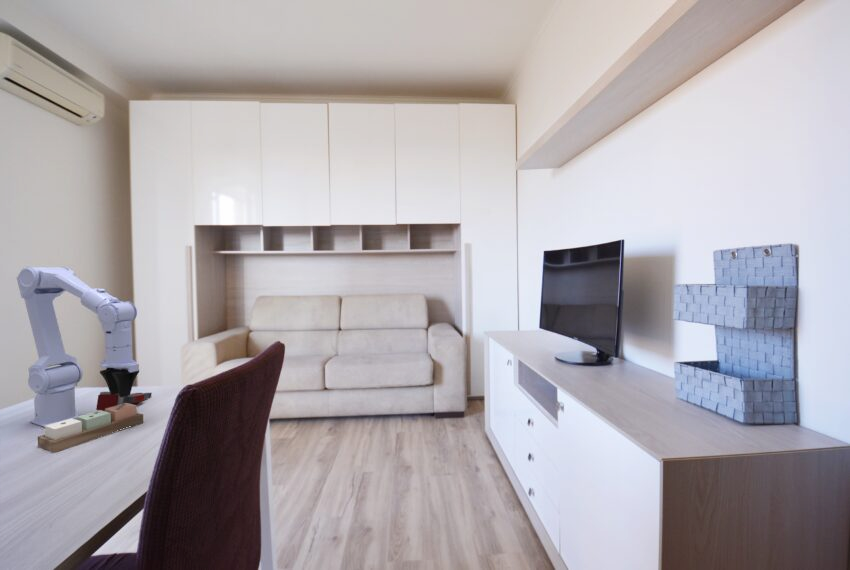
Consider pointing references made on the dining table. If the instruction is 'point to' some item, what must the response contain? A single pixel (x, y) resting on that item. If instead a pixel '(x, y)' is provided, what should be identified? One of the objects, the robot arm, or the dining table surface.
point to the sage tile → (94, 419)
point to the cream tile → (63, 429)
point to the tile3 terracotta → (122, 411)
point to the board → (87, 434)
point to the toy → (118, 399)
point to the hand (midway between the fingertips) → (120, 394)
